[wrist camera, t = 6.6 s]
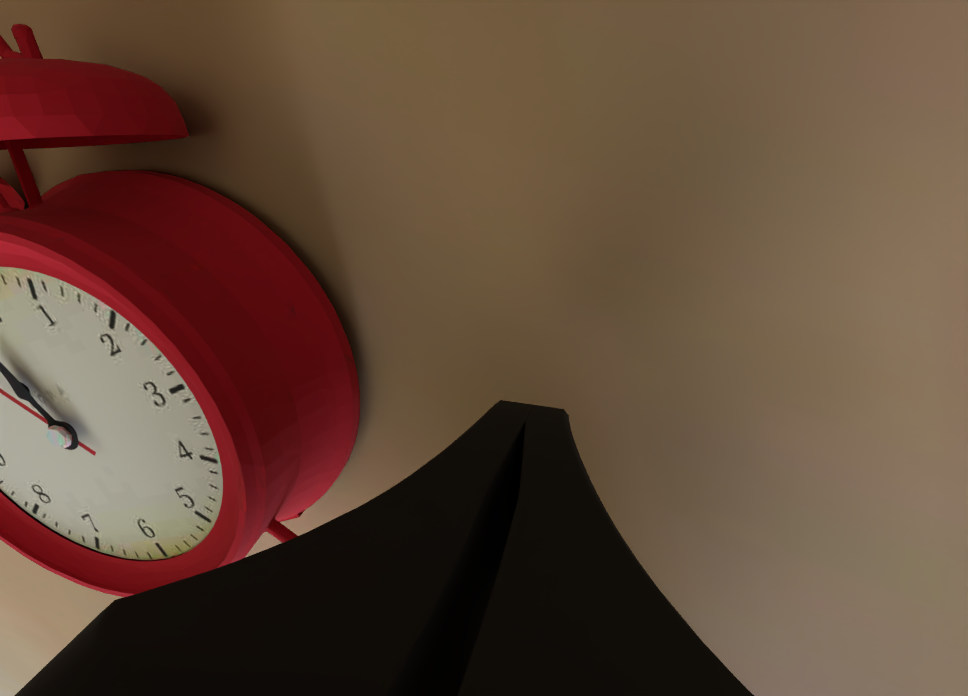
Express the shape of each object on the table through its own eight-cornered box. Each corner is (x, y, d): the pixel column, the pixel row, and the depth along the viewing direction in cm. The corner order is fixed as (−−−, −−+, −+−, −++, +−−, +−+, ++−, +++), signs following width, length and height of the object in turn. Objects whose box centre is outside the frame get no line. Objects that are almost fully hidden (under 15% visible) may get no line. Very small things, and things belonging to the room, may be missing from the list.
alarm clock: (102, 655, 14) (-727, 179, 7) (219, 483, 20) (-201, 103, 12) (401, 611, 11) (-621, -388, 4) (449, 416, 16) (52, -170, 9)
